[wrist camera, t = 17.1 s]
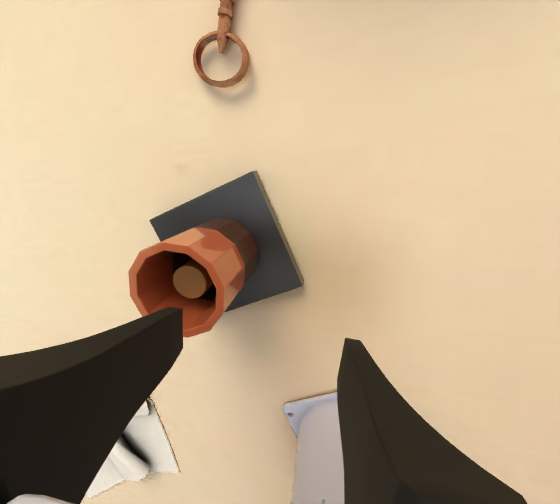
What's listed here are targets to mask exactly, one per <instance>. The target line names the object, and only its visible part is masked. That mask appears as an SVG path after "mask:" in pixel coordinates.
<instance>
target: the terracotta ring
mask: <svg viewBox="0 0 560 504" xmlns="http://www.w3.org/2000/svg"><path fill="white" fill-rule="evenodd" d="M174 252H178V253H184V254H187V255H189V256H190V257H191V258H193V259H194V260H195V261H197V262H198V263H200V264H201V265H202V266H204V267H205V268H206V269H207V271H208V273H209V275H210V277H211V279H212V281H213V283H214V285H215V287H216V299H215V300H206V299H201V298H187V297H184V296H182V295H181V294H180V293H179V292H178V291H177V290H176V288H175V286H174V284H173V276H174V273H173V263H172V255H173V253H174ZM244 269H245V265H244V262H243V260H242V258H241V256H240V254H239V251H238V249H237V247H236V245H235V244H234V243H233V242H231V241H230V240H229V239H227V238H226V237H225V236H223V235H222V234H221V233H219V232H218V231H216V230H212V229H205V228H198V227H193V228H191V229H189V230H186V231H184V232H182V233H180V234H177V235H175V236H173V237H171V238H168V239H166V240H164V241H162V242H160V243H157V244H155V245H153V246H151V247H148V248H146V249H144V250H142V251H140V252H139V254H138V256H137V258H136V260H135V261H134V263H133V265H132V267H131V268H130V270H129V285H130V295H131V298H132V300H133V301H134V303H135V305H136V307H137V308H138V310H139V312H140V313H141V315H142V317H144V316H146V315H149V314H151V313H154V312H156V311H159V310H161V309H164V308H167V307H175V308H181V309H183V337H192V336H195V335H198V334H201V333H204V332H207V331H210V330H211V329H212V327H213V326H214V325H215V323H216V322H217V321H218V320H219V318H220V317H221V316H222V314H223V313H224V312H225V310H226V309H227V307H228V306H229V305H230V303H231V302H232V300H233V299H234V298H235V296H236V295H237V293H238V292H239V291H240V289H241V288H242V287H243V282H244Z"/></svg>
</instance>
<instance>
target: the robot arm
mask: <svg viewBox="0 0 560 504" xmlns="http://www.w3.org/2000/svg"><path fill="white" fill-rule="evenodd" d="M182 349H183V309H181V308H175V307H167V308H164V309H161V310H159V311H156V312H154V313H151V314H149V315H146V316H144V317H141V318H139V319H136V320H134V321H131V322H129V323H126V324H124V325H121V326H118V327H116V328H113V329H110V330H107V331H105V332H102V333H99V334H96V335H93V336H90V337H87V338H83V339H80V340H76V341H73V342H69V343H65V344H61V345H57V346H53V347H48V348H44V349H40V350H35V351H30V352H25V353H19V354H13V355H7V356H1V357H0V504H80V503H81V501H82V499H83V498H84V496H85V494H86V492H87V491H88V489H89V487H90V485H91V484H92V482H93V480H94V478H95V477H96V475H97V473H98V472H99V470H100V468H101V467H102V465H103V463H104V462H105V460H106V458H107V457H108V455H109V454H110V452H111V450H112V449H113V447H114V445H115V444H116V442H117V441H118V439H119V438H120V436H121V434H122V433H123V431H124V430H125V428H126V427H127V425H128V424H129V422H130V421H131V419H132V418H133V417H134V415H135V414H136V412H137V411H138V410H139V409H140V407H141V406H142V405H143V403H144V402H145V401H146V400H147V398H148V397H149V396H150V395H151V393H152V392H153V391H154V389H155V388H156V387H157V386H158V384H159V383H160V382H161V380H162V379H163V378H164V377H165V375H166V374H167V373H168V371H169V370H170V369H171V367H172V366H173V364H174V362H175V361H176V359H177V357H178V356H179V354H180V352H181V350H182ZM283 411H284V413H285V415H286V417H287V419H288V421H289V423H290V425H291V427H292V429H293V431H294V433H295V435H296V437H297V439H298V442H297V452H296V461H295V470H294V479H293V488H292V497H291V504H527V502H526V501H525V499H524V498H523V496H522V495H520V494H519V493H518V492H516V491H515V490H513V489H512V488H510V487H509V486H507V485H506V484H505V483H503V482H502V481H500V480H499V479H497V478H496V477H495V476H493V475H492V474H490V473H489V472H487V471H486V470H484V469H483V468H482V467H480V466H479V465H478V464H476V463H475V462H474V461H472V460H471V459H470V458H469V457H467V456H466V455H465V454H463V453H462V452H461V451H460V450H458V449H457V448H456V447H455V446H453V445H452V444H451V443H450V442H449V441H447V440H446V439H445V438H444V437H443V436H442V435H440V434H439V433H438V432H437V431H436V430H435V429H434V428H433V427H432V426H430V425H429V424H428V423H427V422H426V421H425V420H424V419H423V418H422V417H421V416H420V415H419V414H418V413H417V412H416V411H415V410H414V409H413V408H412V407H411V406H410V405H409V404H408V403H407V402H406V401H405V400H404V398H403V397H402V396H401V395H400V394H399V393H398V392H397V390H396V389H395V388H394V387H393V386H392V384H391V383H390V382H389V381H388V379H387V378H386V377H385V375H384V374H383V373H382V371H381V370H380V369H379V367H378V366H377V364H376V363H375V362H374V360H373V359H372V357H371V356H370V354H369V353H368V351H367V350H366V348H365V347H364V345H363V344H362V342H361V341H360V340H355V339H349V338H345V342H344V347H343V352H342V357H341V363H340V368H339V373H338V378H337V392H334V393H329V394H325V395H320V396H316V397H312V398H307V399H303V400H298V401H294V402H289V403H286V404H284V406H283Z"/></svg>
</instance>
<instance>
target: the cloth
mask: <svg viewBox="0 0 560 504" xmlns="http://www.w3.org/2000/svg"><path fill="white" fill-rule="evenodd" d="M148 471H152V472H174V473H179V472H180V470H179V468H178V465H177V462H176V459H175V456H174V454H173V451H172V448H171V446H170V444H169V441H168V438H167V435H166V433H165V430H164V428H163V426H162V424H161V421H160V419H159V417H158V414H157V412H156V409H155V407H154V405H153V402H152V401H151V400H150V399H149V398H147V400H146V401H145V402H144V403H143V405H142V406H141V407H140V409H139V410H138V411H137V412H136V414H135V415H134V417H133V418H132V419H131V421H130V422H129V424H128V425H127V427H126V428H125V430H124V431H123V433H122V434H121V436H120V438H119V439H118V441H117V442H116V444H115V445H114V447H113V449H112V450H111V452H110V454H109V455H108V457H107V458H106V460H105V462H104V463H103V465H102V467H101V468H100V470H99V472H98V473H97V475H96V477H95V478H94V480H93V482H92V484H91V485H90V487H89V489H88V491H87V492H86V494H85V495H86V496H87V497H88V498H91V497H93V496H95V495H97V494H99V493H101V492H103V491H104V490H106V489H108V488H110V487H112V486H114V485H116V484H118V483H120V482H122V481H124V480H126V479H127V480H131V481H134V482H135V481H138V480H140V479H143V478H145V476H146V474H147V473H148Z"/></svg>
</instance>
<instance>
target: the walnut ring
mask: <svg viewBox="0 0 560 504" xmlns="http://www.w3.org/2000/svg"><path fill="white" fill-rule="evenodd" d="M196 227H198V228H205V229H212V230H216V231H218V232H219V233H221V234H222V235H223V236H225V237H226V238H227V239H229V240H230V241H231V242H233V243H234V244H235V245H236V247H237V249H238V251H239V254H240V256H241V258H242V260H243V262H244V265H245V269H244V282H243V286H244V284H245V283H246V281H247V280H248V279H249V277H250V276H251V274H252V273H253V272H254V270H255V269H256V267H257V263H258V252H259V249H258V246H257V244H256V242H255V240H254V237H253V235H252V233H251V232H250V231H249V230H248V229H247V228H245V227H244V226H243V225H242V224H240V223H239V222H238V221H236V220H233V219H226V218H219V217H216V218H214V219H212V220H209V221H207V222H205V223H203V224H200V225H198V226H196ZM191 259H193V258H191V257H190V256H189V255H187V254H184V253H178V252H174V253H173V255H172V263H173V273H175V271H176V270H177V269H178V268H179V267H181V266H182V265H184V264H185V263H187V262H188V261H190V260H191ZM240 290H241V289H240ZM198 298H201V299H206V300H215V299H216V287H215V285H214V283H213V285H212V286H211V287H210V288H209V289H208V290H207V291H206V292H205V293H204V294H203V295H202V296H200V297H198Z"/></svg>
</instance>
